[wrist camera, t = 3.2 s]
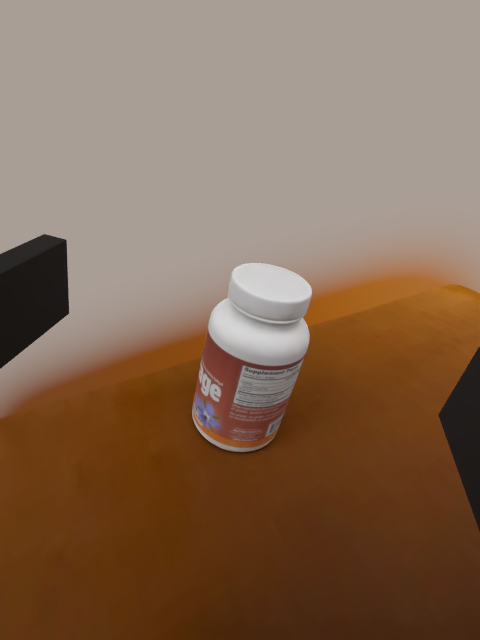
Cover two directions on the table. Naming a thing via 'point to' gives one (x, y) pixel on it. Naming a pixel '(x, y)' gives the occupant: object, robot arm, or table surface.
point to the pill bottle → (251, 357)
